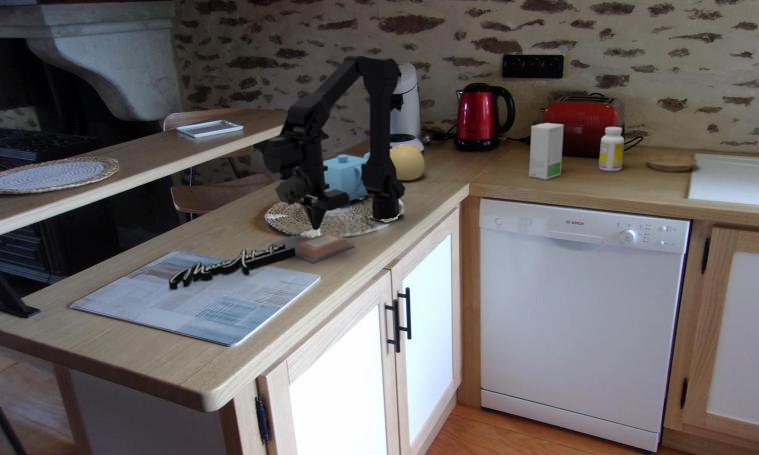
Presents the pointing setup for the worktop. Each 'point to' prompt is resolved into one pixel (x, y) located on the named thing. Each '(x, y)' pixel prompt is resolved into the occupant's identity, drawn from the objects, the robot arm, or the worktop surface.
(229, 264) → the nameplate
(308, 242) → the card box
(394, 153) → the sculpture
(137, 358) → the worktop surface
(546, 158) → the skincare box
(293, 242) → the mat
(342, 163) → the teapot
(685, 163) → the plant saucer
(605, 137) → the supplement bottle
